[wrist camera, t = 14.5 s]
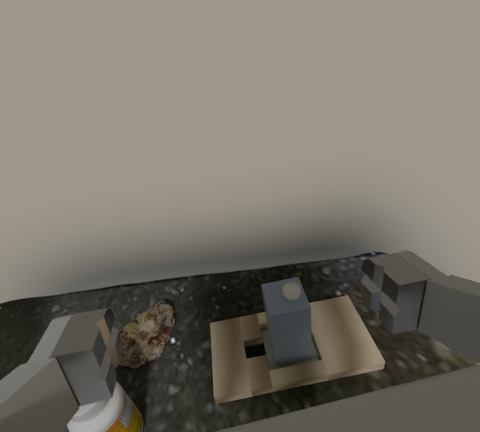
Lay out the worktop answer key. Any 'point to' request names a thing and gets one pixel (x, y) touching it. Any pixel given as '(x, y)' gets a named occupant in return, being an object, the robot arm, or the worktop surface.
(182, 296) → the worktop surface
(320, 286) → the worktop surface
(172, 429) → the worktop surface
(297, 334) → the block
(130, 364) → the mineral rock
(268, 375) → the board
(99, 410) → the supplement bottle
